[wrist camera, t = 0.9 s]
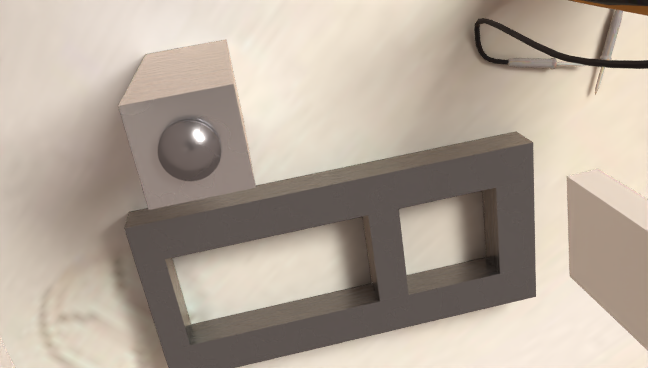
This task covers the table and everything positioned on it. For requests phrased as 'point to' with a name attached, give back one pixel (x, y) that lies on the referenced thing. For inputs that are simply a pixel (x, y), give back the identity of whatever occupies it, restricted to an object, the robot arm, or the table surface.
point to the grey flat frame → (381, 240)
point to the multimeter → (644, 3)
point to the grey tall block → (187, 125)
